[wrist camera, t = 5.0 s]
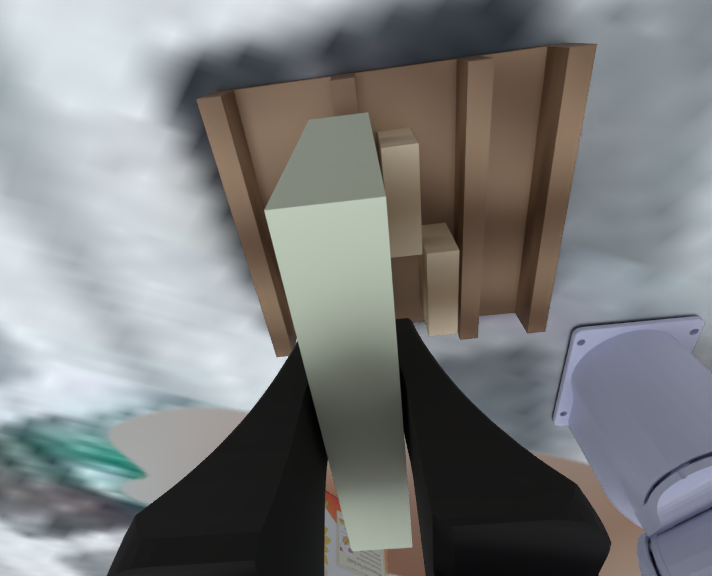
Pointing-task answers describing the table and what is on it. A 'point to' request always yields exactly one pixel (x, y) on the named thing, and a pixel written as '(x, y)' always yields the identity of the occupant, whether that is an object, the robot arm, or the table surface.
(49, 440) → the table surface
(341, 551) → the cracker box
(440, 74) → the rack
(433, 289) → the offcut
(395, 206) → the offcut
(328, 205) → the pale green slab
